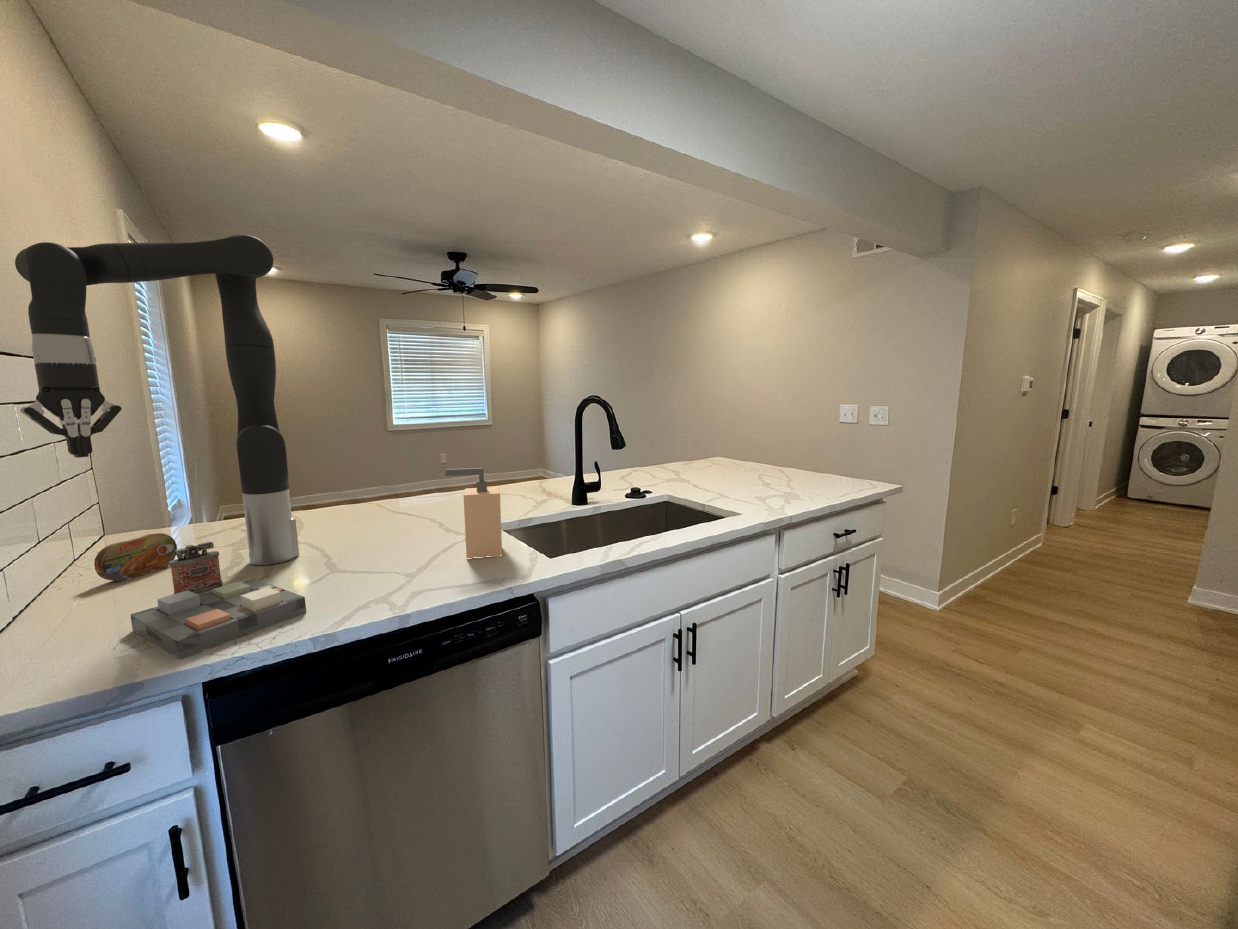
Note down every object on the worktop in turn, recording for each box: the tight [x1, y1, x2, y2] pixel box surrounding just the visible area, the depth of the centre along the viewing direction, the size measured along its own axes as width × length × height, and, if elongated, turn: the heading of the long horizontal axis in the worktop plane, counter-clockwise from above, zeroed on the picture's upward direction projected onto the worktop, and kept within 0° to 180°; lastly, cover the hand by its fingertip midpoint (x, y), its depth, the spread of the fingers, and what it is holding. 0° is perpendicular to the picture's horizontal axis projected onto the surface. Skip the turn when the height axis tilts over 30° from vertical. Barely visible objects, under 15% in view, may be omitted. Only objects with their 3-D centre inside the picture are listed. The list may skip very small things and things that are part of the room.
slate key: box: [156, 590, 201, 616], centre depth 89 cm, size 4×4×2 cm
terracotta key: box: [186, 609, 230, 631], centre depth 84 cm, size 4×4×2 cm
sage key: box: [212, 581, 251, 599], centre depth 96 cm, size 4×4×2 cm
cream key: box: [241, 587, 281, 612], centre depth 90 cm, size 4×4×2 cm
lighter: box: [168, 541, 224, 595], centre depth 103 cm, size 8×3×10 cm, turn 148°
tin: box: [93, 532, 178, 582], centre depth 113 cm, size 15×3×8 cm, turn 168°
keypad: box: [130, 578, 307, 660], centre depth 90 cm, size 19×19×3 cm
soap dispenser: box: [444, 467, 503, 558], centre depth 126 cm, size 13×9×22 cm
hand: (81, 456), depth 92 cm, fingers closed
